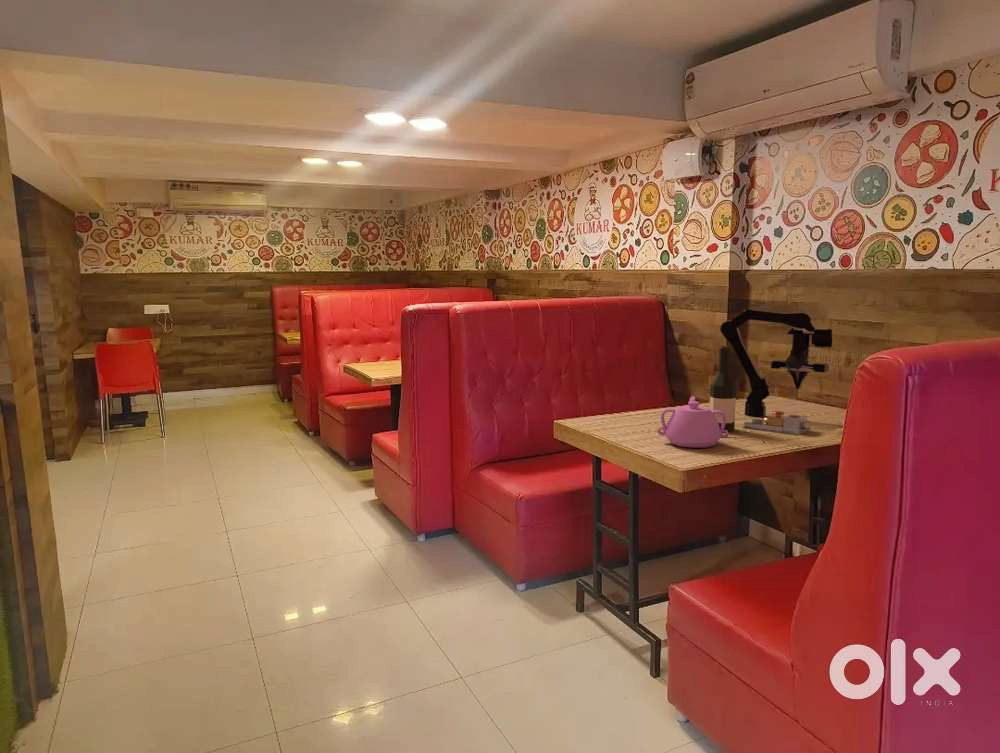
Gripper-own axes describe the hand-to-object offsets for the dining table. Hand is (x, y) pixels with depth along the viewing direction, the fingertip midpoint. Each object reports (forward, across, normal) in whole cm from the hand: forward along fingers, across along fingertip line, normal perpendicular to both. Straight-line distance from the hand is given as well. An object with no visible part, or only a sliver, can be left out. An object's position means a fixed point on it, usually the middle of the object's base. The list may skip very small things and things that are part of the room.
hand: (797, 389), depth 247 cm
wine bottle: (+12, -14, -35) cm, 40 cm away
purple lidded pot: (+12, -16, -54) cm, 58 cm away
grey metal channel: (+12, 0, -22) cm, 25 cm away
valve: (+11, 0, -22) cm, 25 cm away
